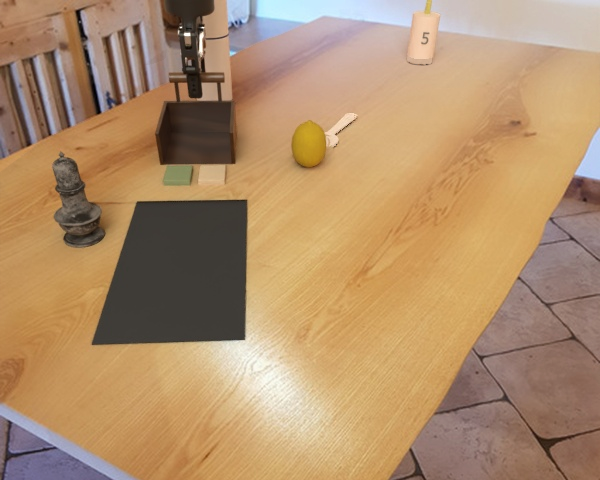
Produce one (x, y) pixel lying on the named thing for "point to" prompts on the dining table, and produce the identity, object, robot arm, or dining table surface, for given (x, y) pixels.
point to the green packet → (178, 175)
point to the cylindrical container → (217, 52)
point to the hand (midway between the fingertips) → (197, 88)
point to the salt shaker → (75, 206)
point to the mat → (179, 275)
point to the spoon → (338, 129)
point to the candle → (423, 33)
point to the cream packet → (212, 175)
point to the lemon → (309, 144)
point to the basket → (197, 127)
